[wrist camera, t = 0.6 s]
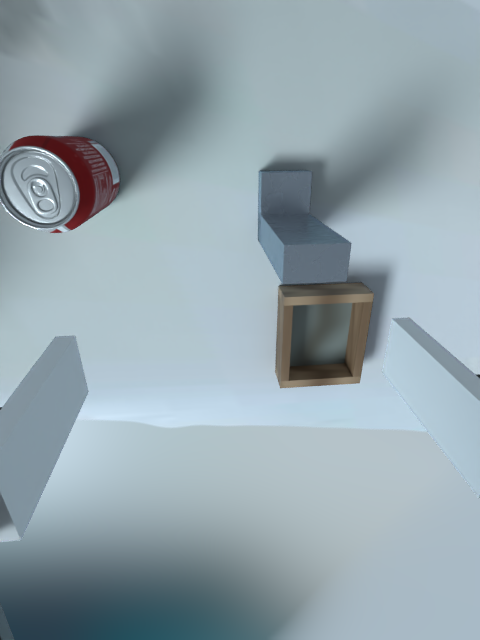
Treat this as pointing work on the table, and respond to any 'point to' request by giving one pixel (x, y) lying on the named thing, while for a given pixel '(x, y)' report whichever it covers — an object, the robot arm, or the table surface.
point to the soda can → (56, 181)
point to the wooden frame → (322, 333)
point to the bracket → (297, 231)
